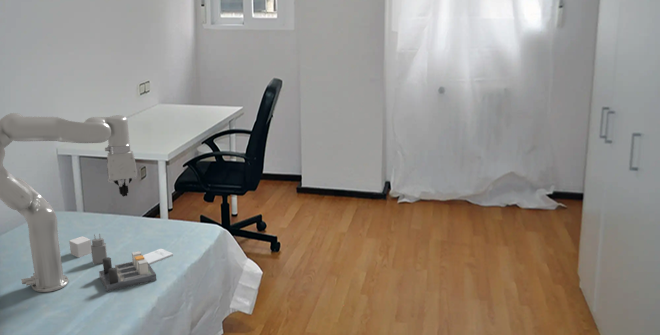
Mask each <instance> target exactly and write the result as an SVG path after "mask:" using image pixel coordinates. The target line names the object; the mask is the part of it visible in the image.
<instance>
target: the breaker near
mask: <svg viewBox="0 0 660 335" xmlns="http://www.w3.org/2000/svg"><path fill="white" fill-rule="evenodd" d="M138 269H139V275H142V274H146V273H149V272H148V262H147V261H146V260H142V261H138Z"/></svg>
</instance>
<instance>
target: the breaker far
mask: <svg viewBox="0 0 660 335" xmlns="http://www.w3.org/2000/svg"><path fill="white" fill-rule="evenodd" d="M141 255H142V252H141V251H140V250H139V251H132V252H131V257H132V262H133V266H134V265H135V257H137V256H141Z"/></svg>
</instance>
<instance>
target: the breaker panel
mask: <svg viewBox="0 0 660 335" xmlns="http://www.w3.org/2000/svg"><path fill="white" fill-rule="evenodd" d="M114 268H117V274H118V282H117V283H115V284H111V283H110V281H109V273H104V269H103V270H100V271H98V274H99V279H100V281H101V282H102V285H103V287H104V288H105V290H106V292H111V291H116V290H120V289H125V288H128V287H133V286H137V285H142V284H147V283H150V282H154V281H157V274H156V272H155V271H154V269H153V268H152V266H151V265H149V264H148V272H149V273H146V274H142V275H139V270H136V266H135V265H134V266H133V261H129V262H124V263H120V264H115V265H114Z"/></svg>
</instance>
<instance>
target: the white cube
mask: <svg viewBox="0 0 660 335" xmlns="http://www.w3.org/2000/svg"><path fill="white" fill-rule="evenodd" d="M68 242H69V250H70V254H71V255H73V256H75V257H76V258H82V257H85V256H89V255H92V251H91V245H92V239H90V238H88V237H85V236H83V235H82V236H79V237H77V238H76V237H75V238H72V239H70V240H69V241H68Z"/></svg>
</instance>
